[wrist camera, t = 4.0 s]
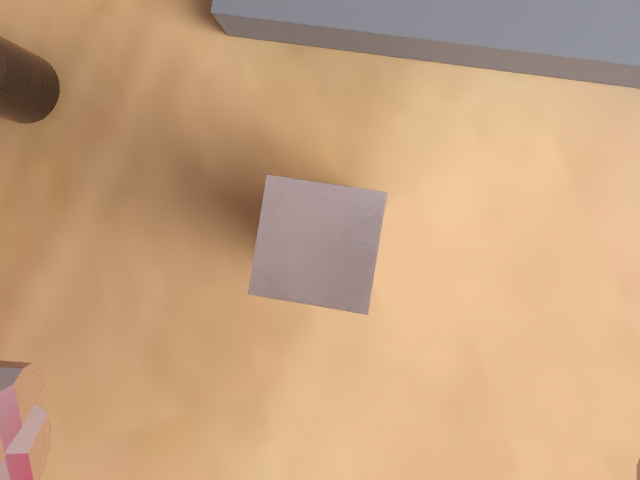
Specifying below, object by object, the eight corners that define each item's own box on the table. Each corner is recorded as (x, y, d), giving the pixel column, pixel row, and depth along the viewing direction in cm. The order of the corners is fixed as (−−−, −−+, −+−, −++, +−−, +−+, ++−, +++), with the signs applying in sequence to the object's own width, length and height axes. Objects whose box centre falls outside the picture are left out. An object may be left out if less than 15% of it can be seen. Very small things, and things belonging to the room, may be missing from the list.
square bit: (302, 272, 29) (248, 294, 17) (313, 201, 29) (266, 174, 17) (373, 283, 29) (367, 314, 17) (384, 212, 29) (387, 192, 17)
